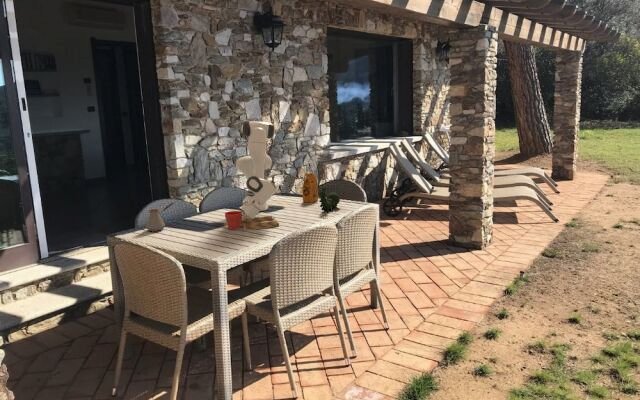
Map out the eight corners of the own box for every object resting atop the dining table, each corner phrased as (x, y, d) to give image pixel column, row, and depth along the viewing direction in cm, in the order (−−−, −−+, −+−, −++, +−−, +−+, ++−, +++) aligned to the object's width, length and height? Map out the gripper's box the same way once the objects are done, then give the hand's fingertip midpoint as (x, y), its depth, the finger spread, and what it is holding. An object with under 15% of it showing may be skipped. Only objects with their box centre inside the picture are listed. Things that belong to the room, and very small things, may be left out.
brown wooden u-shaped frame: (274, 220, 324) (273, 215, 323) (279, 226, 308) (278, 220, 307) (241, 223, 318) (240, 218, 318) (244, 230, 302) (243, 224, 302)
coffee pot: (153, 233, 304) (151, 209, 301) (142, 231, 311) (139, 207, 308) (181, 225, 321) (179, 202, 318) (170, 223, 328) (168, 201, 325)
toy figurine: (329, 215, 336) (344, 205, 358) (327, 188, 331) (342, 179, 352) (317, 215, 341) (332, 204, 362) (314, 188, 335) (330, 179, 357)
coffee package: (300, 202, 377) (299, 173, 373) (309, 199, 388) (307, 171, 383) (311, 203, 372) (310, 174, 368) (320, 200, 383) (318, 171, 378)
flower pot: (246, 226, 312) (245, 210, 310) (238, 230, 302) (236, 214, 300) (231, 225, 316) (230, 210, 314) (222, 229, 305) (221, 214, 303)
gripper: (250, 197, 319) (236, 213, 318) (255, 202, 299) (240, 220, 299) (257, 203, 321) (243, 219, 320) (263, 209, 301) (248, 226, 301)
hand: (242, 220), depth 309 cm, fingers closed
